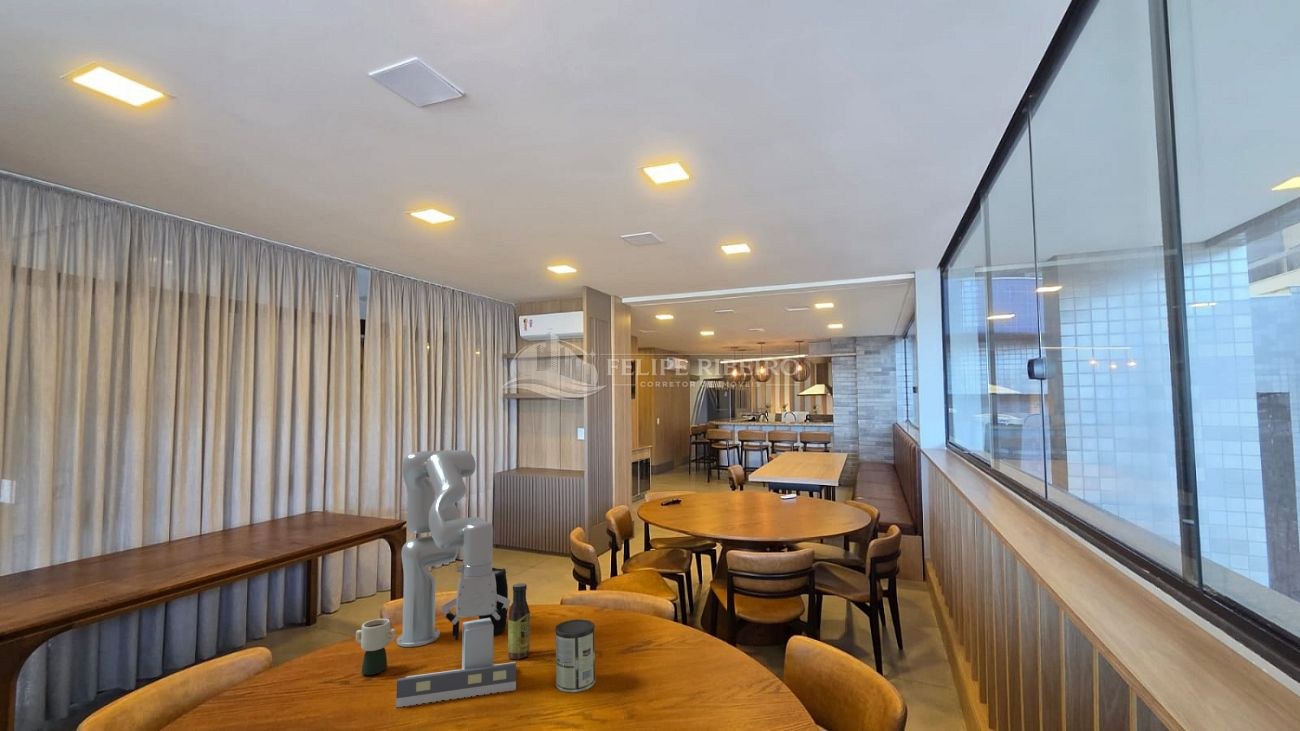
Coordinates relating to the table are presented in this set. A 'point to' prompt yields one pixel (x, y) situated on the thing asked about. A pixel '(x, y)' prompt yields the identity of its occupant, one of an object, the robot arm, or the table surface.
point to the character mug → (375, 644)
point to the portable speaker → (502, 591)
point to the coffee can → (575, 655)
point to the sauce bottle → (519, 624)
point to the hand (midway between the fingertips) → (476, 636)
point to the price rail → (455, 680)
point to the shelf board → (455, 692)
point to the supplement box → (477, 644)
